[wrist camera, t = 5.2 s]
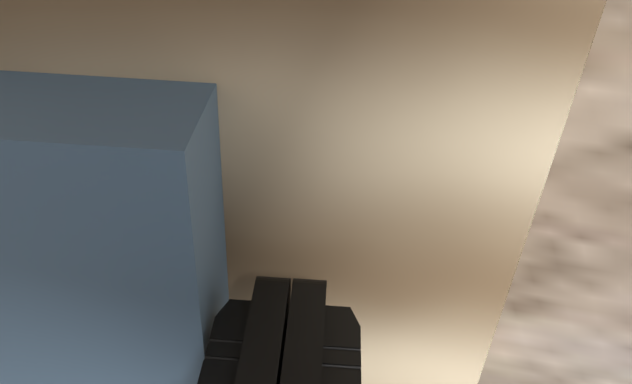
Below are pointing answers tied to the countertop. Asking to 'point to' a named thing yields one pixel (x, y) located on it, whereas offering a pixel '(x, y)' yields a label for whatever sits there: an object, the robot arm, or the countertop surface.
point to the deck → (357, 143)
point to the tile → (108, 229)
